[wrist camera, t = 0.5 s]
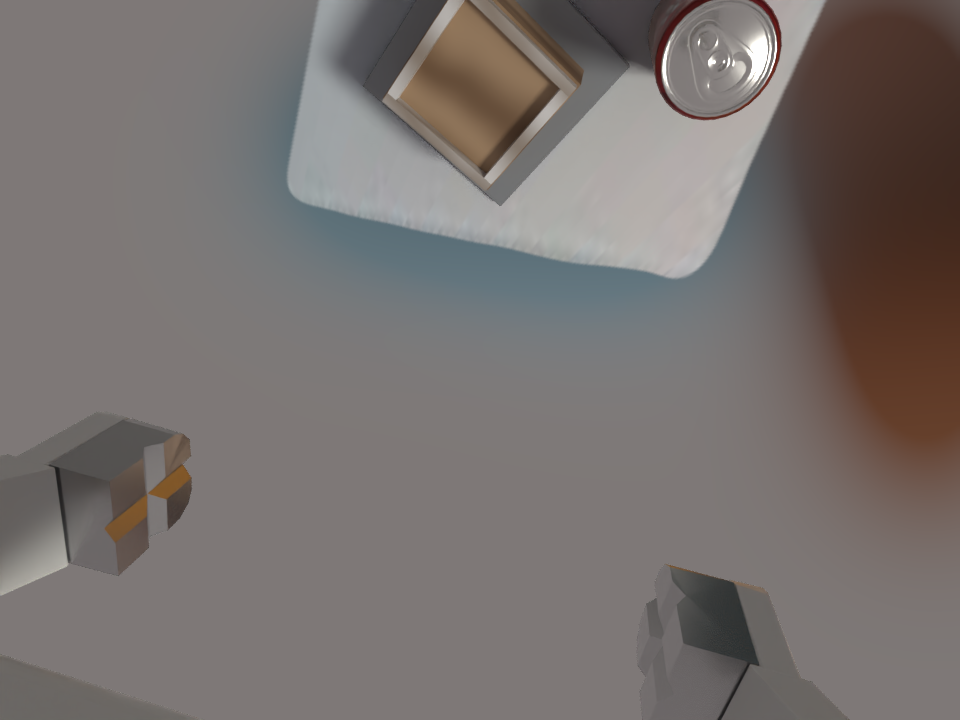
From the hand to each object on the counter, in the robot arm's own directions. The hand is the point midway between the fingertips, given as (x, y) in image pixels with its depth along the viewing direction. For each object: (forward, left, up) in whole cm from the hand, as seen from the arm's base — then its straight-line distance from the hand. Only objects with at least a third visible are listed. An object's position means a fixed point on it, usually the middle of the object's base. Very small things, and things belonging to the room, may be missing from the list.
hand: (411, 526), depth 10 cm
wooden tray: (+7, -3, -47) cm, 48 cm away
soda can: (-6, +7, -47) cm, 48 cm away
